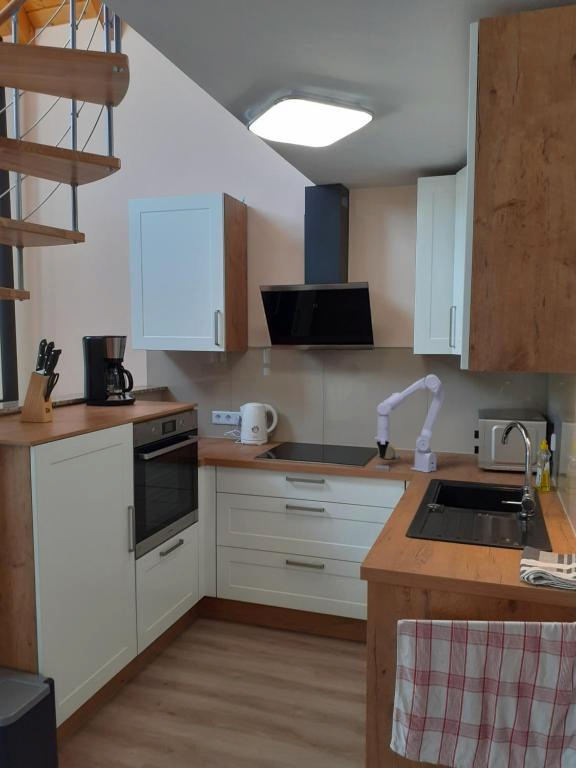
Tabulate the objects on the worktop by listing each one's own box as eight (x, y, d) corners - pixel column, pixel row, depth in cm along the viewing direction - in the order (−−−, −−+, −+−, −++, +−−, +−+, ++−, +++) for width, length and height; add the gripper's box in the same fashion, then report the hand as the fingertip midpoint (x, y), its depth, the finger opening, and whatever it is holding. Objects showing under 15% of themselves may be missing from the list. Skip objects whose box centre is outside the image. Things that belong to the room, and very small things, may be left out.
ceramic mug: (381, 460, 300) (381, 444, 299) (377, 456, 308) (378, 441, 307) (402, 460, 301) (402, 445, 300) (397, 457, 309) (398, 442, 308)
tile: (375, 465, 280) (375, 467, 274) (388, 465, 279) (388, 468, 273) (375, 469, 280) (375, 471, 274) (388, 469, 279) (388, 472, 273)
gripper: (374, 425, 288) (374, 453, 289) (374, 430, 274) (373, 459, 275) (389, 426, 287) (389, 454, 288) (390, 430, 273) (389, 460, 274)
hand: (382, 457), depth 281 cm, fingers closed
